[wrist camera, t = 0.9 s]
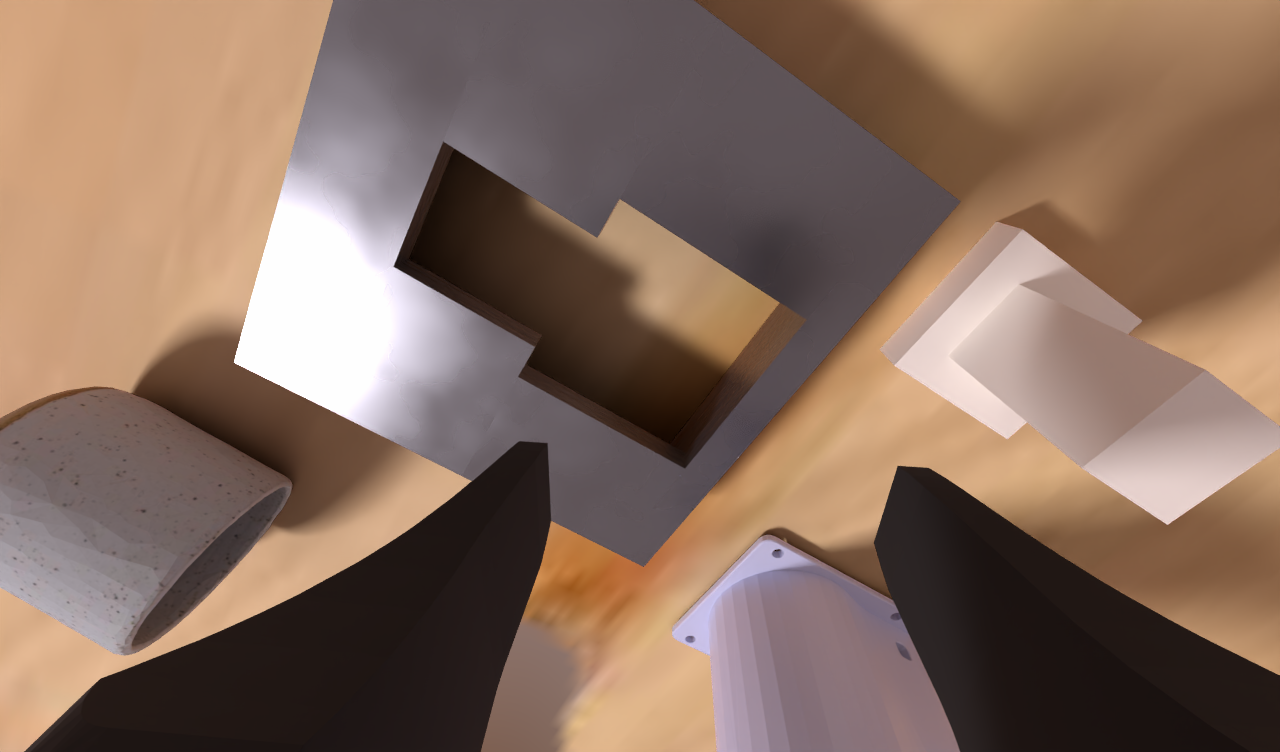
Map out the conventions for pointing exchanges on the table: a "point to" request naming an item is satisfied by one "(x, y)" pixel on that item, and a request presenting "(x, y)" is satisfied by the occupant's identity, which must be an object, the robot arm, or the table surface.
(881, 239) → the keyhole plate
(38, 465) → the ceramic mug
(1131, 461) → the peg
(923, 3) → the table surface
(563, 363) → the table surface
